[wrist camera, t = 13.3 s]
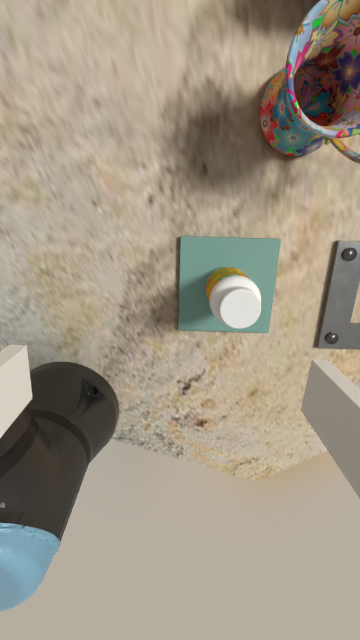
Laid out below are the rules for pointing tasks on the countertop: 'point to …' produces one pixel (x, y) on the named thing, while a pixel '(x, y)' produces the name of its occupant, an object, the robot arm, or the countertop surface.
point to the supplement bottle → (233, 297)
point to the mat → (215, 253)
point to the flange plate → (341, 299)
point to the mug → (317, 84)
